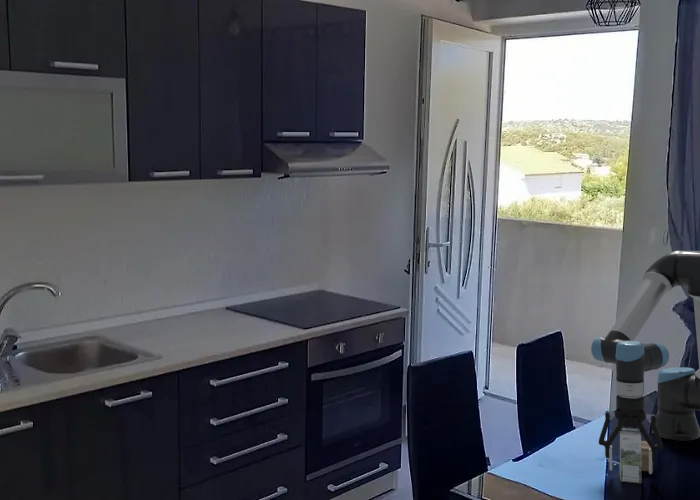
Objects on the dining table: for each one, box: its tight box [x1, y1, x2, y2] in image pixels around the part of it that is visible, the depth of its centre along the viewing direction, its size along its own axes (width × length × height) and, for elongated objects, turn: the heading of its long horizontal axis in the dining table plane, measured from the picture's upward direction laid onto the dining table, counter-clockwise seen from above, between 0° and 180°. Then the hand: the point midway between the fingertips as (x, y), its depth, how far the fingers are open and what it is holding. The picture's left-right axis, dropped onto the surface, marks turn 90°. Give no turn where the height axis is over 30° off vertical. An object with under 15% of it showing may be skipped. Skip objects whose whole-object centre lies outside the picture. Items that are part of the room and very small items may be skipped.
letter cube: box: [641, 440, 654, 473], centre depth 224 cm, size 7×7×7 cm
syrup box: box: [619, 427, 642, 484], centre depth 214 cm, size 6×6×14 cm
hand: (630, 470), depth 214 cm, fingers open, 10 cm apart
